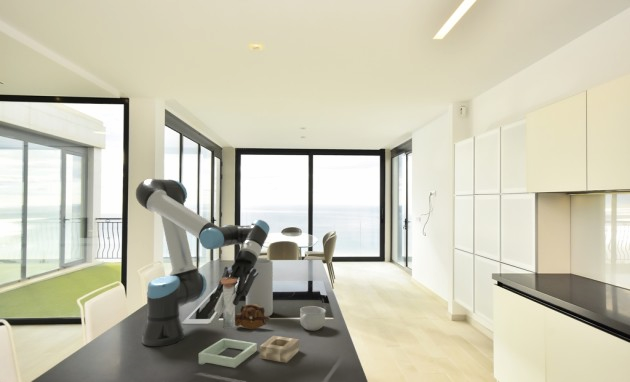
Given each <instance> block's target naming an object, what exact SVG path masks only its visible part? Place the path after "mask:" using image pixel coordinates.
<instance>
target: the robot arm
mask: <svg viewBox="0 0 630 382" xmlns="http://www.w3.org/2000/svg"><path fill="white" fill-rule="evenodd" d="M135 198H136V200H137V202H138V203H139V205H141V207H143V208H144V209H146V210H148V211H150V212H156V214H158V215H160V216H161V222H162V227H163V231H164V236H165V241H166V242H165V243H166V246H167V251H168V255H169V261H170V266H171V272H170V273H169V275H166V276H165V275H164V276H161V277H156V278H154V279H152V280H151V281H150V282H149V283H148V285H147V293H146V296H147V297H146V298H147V299H146V300H147V304H146V305H147V306H146V308H147V310H146V312H147V313H146V314H147V317H146V318H147V319H146V320H147V321H146V324H145V327H144V330H143V333H142V335H141V336H142V337H141V342H142V344H143V345H145V346H147V347H162V346H168V345H172V344H175V343H178V342H180V341H181V340H183V339H184V337H185V331H184V329H185V328H183V325H182V321H181V319H180V307H182V306H185V305H188V304H190V303H193V302H196V301H197V300H199V299H200V298H202V297H203V296H204V295H205V293H206V291H207V279H206V276H205V275H204V274H203V273H201V272H199V269H198V267H197V266H196V265H195V264H194V263H193V258H192V253H191V249H190V244H189V238H188V235H187V233H189V234H191V235H192V236H193V237H195V238H197V239H198V240H199V243H200V244H201V246H202V247H203V249H206V250H217V249H220V248H224V247H229V246H235V245H241V247H240V249H239V251H238V253H237V255H236V257H235V259H234V263H233V264H232V265H231V266H230V267H228V266H224V267H223V270H224V271H223V274H222V276H221V278H223V277H237V280H238V279H239V280H238V282H237V288H236V290H235V293H234V294H233V296H232V298H231V300H230V302H229V305H228V307H227V309H226V312H227V313H228V314H229V315H231V314H232V312H233V309H234V307H235V308H236V306H237V305H238V304H239V302H240V299H241V298H242V297H246V296H247V294H248V292H249V290H250V288H251V285H252V283H253V281H254V279H255V277H256V276H257V275H258V272H257V270H256V269H253V268H254V266H255V264H256V261H257V259H259V257H260V254H261V251H262V249H263V247H264V244H265V241H266V240H267V238H268V235H269V232H270V225H269V224H268V222H266V221H264V220H262V219H256V220H253V221H252V223H251V225H238V224H237V225H235V224H229V225H228V224H227V225H226V224H225V225H223V226H218V225H216V224H214V223H213V222H211V221H210V220H208V219H206V218H204V217H203V216H201V215H199V214H198V213H196V212H195V211H193V210H191V209H190V208H188V207H186V206H185V203H186V202H187V201H186V200H187V199H188V192H187V189H186V187H185V186H184V184H183V183H181V182H180V181H178V180H174V179H160V178H147V179H144V180H143V181H141V182H140V183H139V184H138V186H137V187H136V189H135ZM248 274H249V276H248V278H247V275H248ZM246 279H247V280H246ZM216 291H217V292H218V293H219V294H218V297H217V299H216V304H215V306H214V309H213V310H214V312H216V314H219V315H220V313H221V311H222V310H223V285H222V284H221V279H220V281H219V282H218V284H217V287H216Z"/></svg>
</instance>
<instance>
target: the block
mask: <svg viewBox="0 0 630 382" xmlns="http://www.w3.org/2000/svg"><path fill="white" fill-rule="evenodd" d="M299 340H300V339H298V338H292V337H291V338H290V337H285V336H277V335H272V336H271V337H270V338H268V339H267V340H265V342H263V343H262V344H261V345H259V359H262V360H263V359H264V360H268V361H275V362H280V363H285V364H286V363H288V362H289V361H290V360H291V359H293V357H294V356H295V355H296V354H298V352H299V351H300V344H299V343H300V341H299Z"/></svg>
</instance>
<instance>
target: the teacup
mask: <svg viewBox="0 0 630 382" xmlns="http://www.w3.org/2000/svg"><path fill="white" fill-rule="evenodd" d="M299 311H300V313H299V314H300V315H299V322H300V325H301V326H302V327H303V328H304V330H307V331H311V332H312V331H313V332H315V331H318V330H321V328H323V327H324V325H325V321H326V312H327V310H326V309H325V308H323V307H321V306H315V305H307V306H303V307H301V308H299Z"/></svg>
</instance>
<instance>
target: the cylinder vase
mask: <svg viewBox="0 0 630 382" xmlns="http://www.w3.org/2000/svg"><path fill="white" fill-rule="evenodd" d="M273 261H274V260H271V259H265V258H263V259H261V258H258V259H257V261H256V264H255V266H254V268H253V269H256V270H257V272H258V275H257V276H256V277H255V279H254V281H253V283H252V285H251V288H250V290H249V292H248V294H247V296H245V306H246V305H248V304H256V305H259V306H261V307H264V310H265V312H264V316H266V317H267V316H268V317H270V316H272V314H273V311H274V310H273V307H274V304H273V302H274V301H273V299H274V298H273V296H274V295H273V294H274V293H273V291H274V290H273V289H274V288H273V286H274V285H273V284H274V282H273V279H274V277H273V276H274V275H273V272H274V271H273V269H274V268H273ZM248 276H249V274H248V275H247V278H248ZM246 280H247V279H246Z"/></svg>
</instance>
